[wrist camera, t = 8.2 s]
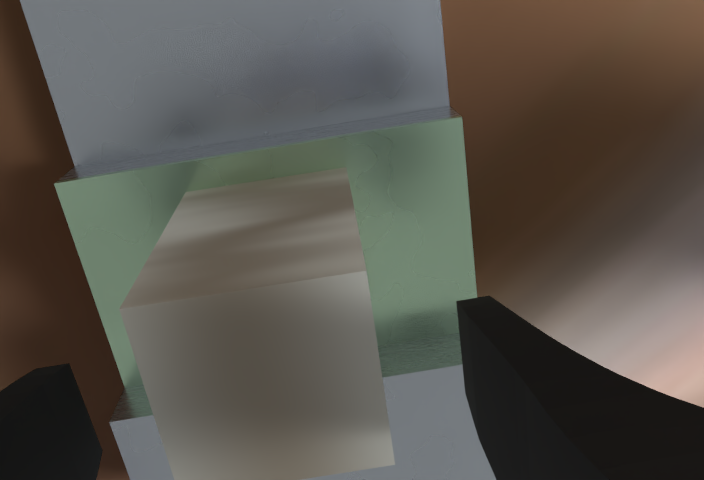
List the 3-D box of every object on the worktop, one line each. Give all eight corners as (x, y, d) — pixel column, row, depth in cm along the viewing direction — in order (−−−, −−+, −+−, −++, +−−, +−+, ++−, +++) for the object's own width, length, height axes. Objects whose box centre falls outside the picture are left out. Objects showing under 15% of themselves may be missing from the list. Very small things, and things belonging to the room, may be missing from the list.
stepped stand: (415, -145, 16) (453, -188, 12) (471, 430, 23) (506, 531, 19) (6, -79, 16) (-100, -98, 12) (186, 476, 23) (159, 587, 19)
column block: (346, 166, 16) (366, 270, 10) (367, 308, 17) (395, 464, 12) (185, 191, 16) (119, 309, 10) (221, 331, 17) (180, 498, 12)
